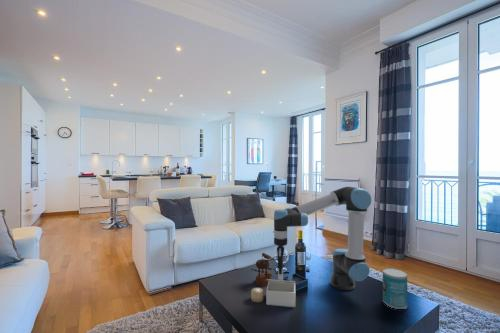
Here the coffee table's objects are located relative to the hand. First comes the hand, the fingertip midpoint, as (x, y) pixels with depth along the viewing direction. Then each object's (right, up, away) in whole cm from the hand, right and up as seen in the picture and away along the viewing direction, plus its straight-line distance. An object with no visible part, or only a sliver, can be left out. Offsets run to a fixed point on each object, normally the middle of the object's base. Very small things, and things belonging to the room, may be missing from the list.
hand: (280, 278), depth 145 cm
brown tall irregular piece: (-9, -14, +26) cm, 31 cm away
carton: (+1, -14, +3) cm, 14 cm away
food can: (+64, -14, -2) cm, 66 cm away
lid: (+1, -3, +4) cm, 5 cm away
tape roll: (-13, -14, +5) cm, 20 cm away
